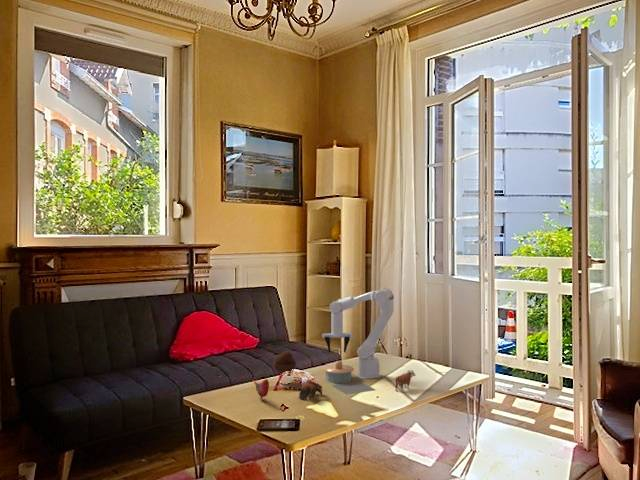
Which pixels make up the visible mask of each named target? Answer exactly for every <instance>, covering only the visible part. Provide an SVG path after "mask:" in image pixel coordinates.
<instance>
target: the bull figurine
mask: <svg viewBox="0 0 640 480" xmlns="http://www.w3.org/2000/svg"><path fill="white" fill-rule="evenodd" d="M413 377H416V373H415V371H414V370H413V369H410V370H409V369H408V370H406V371H405V372H403V373H402V374H400V375H398V376H397V377H395V379H394V381H395V386H394V387H395V392H398V387H399V390H400V391H401V392H405V389H404V388H406V389H407V390H409V389H410V387H409V386H410V384H411V380H412V379H411V378H413Z"/></svg>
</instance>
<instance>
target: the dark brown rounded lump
mask: <svg viewBox="0 0 640 480" xmlns="http://www.w3.org/2000/svg"><path fill="white" fill-rule="evenodd" d="M296 365H297V362H296V360H295V358H294V357H293V354H292V352H291V351H288V350H286V351H285V350H284V351H282V353H279V354H278V355H277V356H276V357H275V358H274V361H273V363H272V366H273V369H274V370H275V371H276V372H277V373H279V374H280V375H282V373H283V372H285V371H291V370H292V369H293V371H294V370H295V368H296V367H297V366H296Z"/></svg>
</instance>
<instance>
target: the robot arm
mask: <svg viewBox="0 0 640 480" xmlns="http://www.w3.org/2000/svg"><path fill="white" fill-rule="evenodd" d="M369 300H371V301H373V302H374V301H375V302H376V304H377V305H378V306H379V307H380V310H381V312H380V314H379V316H378V318H377V320H376V322H375V323H374V325H373V327H372V328H371V331H370V333H369V334H368V336H367V338H366V339H365V341H363V343H362V344H361V346H360V347H358V348H357V351H356V353H357V356H358V373H355V376H356V377H358V378H360V379H362V380H364V379H365V380H366V379H367V380H368V379H375V378H380V377H381V376H380V361H379V359H378V358H377V357H375V353H376V349H377V346H378V341H379V339H380V338H381V336H382V334H383V332H384V330H385V328H386V327H387V325H388V323H389V321H390V319H391V317H392V316H393V314H394V310H395V308H394V304H395V303H394V300H395V296H394V293H393V291H392V289H389V288H384V289H377V290H373V291H369V292H366V293H363V294H361V295H358V296H353V295H350V294H349V295H346V297H344V298H338V300H335V301H334V300H333V301H332V302H331V303H329V311H330V312H331V313H330V314H331V315H330V316H331V317H330V319H331V320H330V321H331V322H330V327H331V332H329V333H328V332H327V333H322V335H321V336H322V339H324V341H325V343H326V345H327V346H326V347H327V349H328V353H330V354H331V339H333V338H334V339H340V338H341V339H342V338H343V353H347V347H348V345H349V343H350V341H351V339H352V338H353V334H352V332H344V322H343V321H344V313H343V312H344V311H346V310H349V309H350V310H351V309H353V308H356V307H357V304H359V303H362V302H366V301H369Z"/></svg>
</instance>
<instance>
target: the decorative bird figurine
mask: <svg viewBox="0 0 640 480" xmlns="http://www.w3.org/2000/svg"><path fill="white" fill-rule="evenodd" d="M252 381H253V383H254V385H255V390H256V392H257V395H259V397H260V400H261V401H262V402H265V400H264V398H265V397H267V396H268V393H269V389H270V388H269V387H270V381H269V380H268V379H266V378H265V379H263V380H262V382H257V381H256V380H254V379H252Z"/></svg>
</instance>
